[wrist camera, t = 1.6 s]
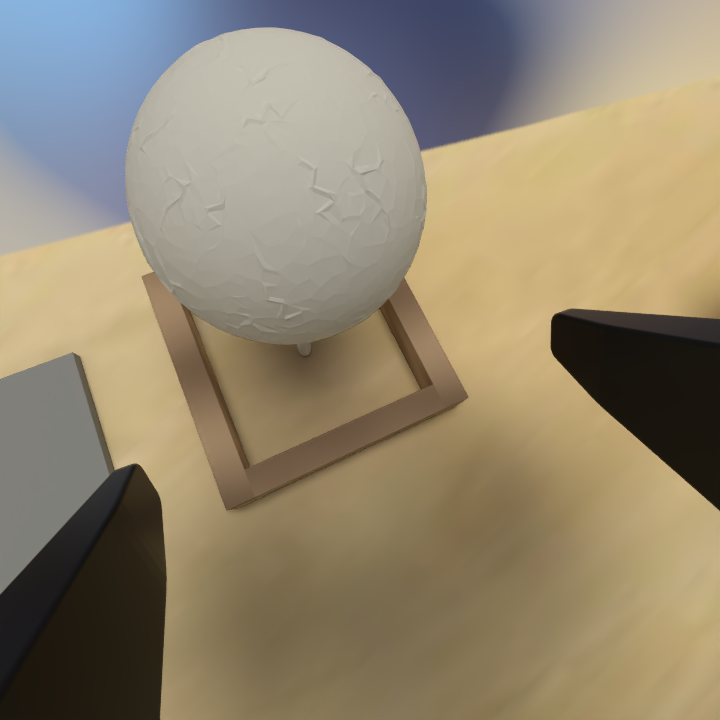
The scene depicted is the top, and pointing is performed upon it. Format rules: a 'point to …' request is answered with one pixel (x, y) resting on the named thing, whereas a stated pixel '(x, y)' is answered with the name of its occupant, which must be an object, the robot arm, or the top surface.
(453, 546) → the top surface
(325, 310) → the lollipop
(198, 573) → the top surface
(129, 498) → the robot arm
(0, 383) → the mat
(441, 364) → the brown wooden square frame
